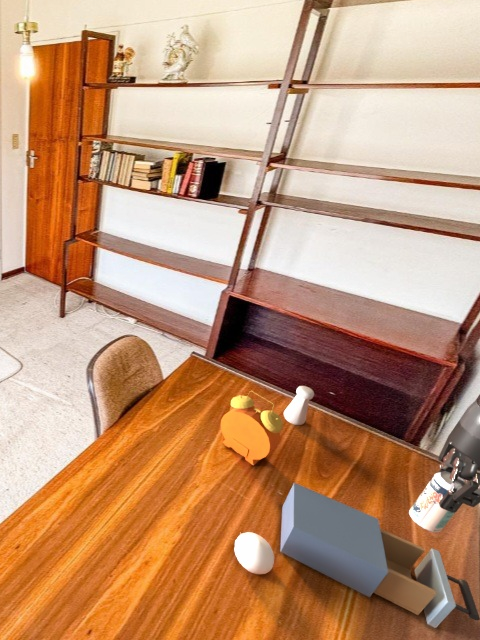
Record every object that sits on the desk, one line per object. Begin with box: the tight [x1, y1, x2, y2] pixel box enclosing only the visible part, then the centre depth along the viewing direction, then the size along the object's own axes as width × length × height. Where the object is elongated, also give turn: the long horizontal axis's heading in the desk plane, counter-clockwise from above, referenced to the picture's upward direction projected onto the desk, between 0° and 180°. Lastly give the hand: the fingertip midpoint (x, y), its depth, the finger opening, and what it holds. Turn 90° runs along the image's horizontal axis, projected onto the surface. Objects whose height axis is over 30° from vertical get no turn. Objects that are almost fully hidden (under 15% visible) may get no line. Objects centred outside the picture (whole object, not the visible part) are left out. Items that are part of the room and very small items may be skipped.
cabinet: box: [279, 482, 388, 598], centre depth 86 cm, size 16×13×10 cm
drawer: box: [373, 528, 480, 629], centre depth 79 cm, size 19×11×8 cm, turn 57°
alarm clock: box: [220, 390, 284, 466], centre depth 107 cm, size 13×6×20 cm, turn 34°
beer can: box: [408, 471, 465, 533], centre depth 75 cm, size 5×5×12 cm
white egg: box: [233, 531, 275, 575], centre depth 84 cm, size 10×7×7 cm
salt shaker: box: [283, 385, 315, 426], centre depth 120 cm, size 6×6×13 cm
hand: (442, 497), depth 75 cm, fingers closed on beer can, 4 cm apart
